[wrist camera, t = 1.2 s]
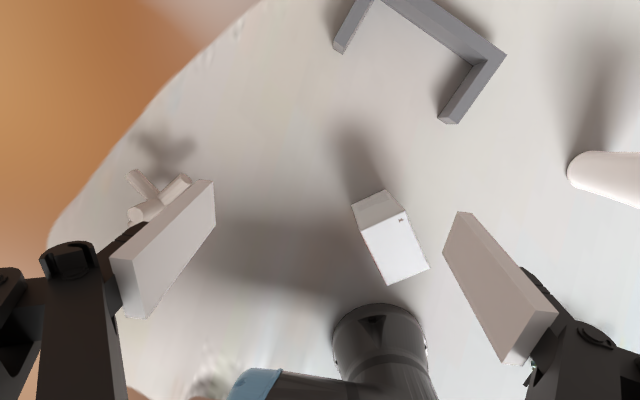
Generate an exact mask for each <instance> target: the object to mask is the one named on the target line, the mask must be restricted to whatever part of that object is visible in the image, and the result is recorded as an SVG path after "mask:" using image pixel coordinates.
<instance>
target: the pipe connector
mask: <svg viewBox="0 0 640 400" xmlns="http://www.w3.org/2000/svg"><path fill="white" fill-rule="evenodd" d="M125 179H126V180H127V181H128V182H129V183H130V184H131V185H132V186H133V187H134V188H135V189H136V190H137V191H138V192H139V193H140V194H141V195H142V196H143V197H144V198H145V199H146V200H147V201H146V202H143V203H141V204H139V205H136V206H134V207H132V208H130V209H129V210H128V211H127V216H128V218H129V219H130V221H129V222H128V226H129V228H130V227H131V226H134V225H136V224H138V223H140V222H142V221H146V222H150V221H151V220H152V219H154V218H155V217H156V216H157V215H158V214H159V213H161V212H162V211H163V210H164V209H165V208H166V207H168V206H169V205H170V204H171V203H172V202H173V201H174V200H176V199H177V198H178V197H179V196H180V195H181V194H183V193H184V192H185V191H184V190H186V189H187V188H188V187H189V186H190V185H191V184H192V180H191V179H190V178H189V177H188V176H187V175H185V174H183V173H181V174H180V175H178V176H177V177H176V178H175V179H174V180H173V181H172V182H171V183H170V184H169V185H168V186H167V187H166V188H164V189H163V190H162V191H161V192H160V191H159V190H158V189H157V188H156V187H155V186H154V185H153V184H152V183H151V182H150V181H149V180H148V179H147V178H146V177H145V176H144V175H143V174H142V173H141V172H140V171H139V170H138V169H135V170H132V171H131V172H129V173H128V174H127V175H126V176H125Z"/></svg>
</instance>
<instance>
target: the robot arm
mask: <svg viewBox="0 0 640 400" xmlns="http://www.w3.org/2000/svg"><path fill="white" fill-rule="evenodd" d="M215 226H216V216H215V201H214V186H213V181H208V180H200V179H199V180H198V181H197V182H195V183H194V184H193V185H192V186H191V187H190V188H188V189H187V190H186V191H185V192H184V193H183V194H181V195H180V196H179V197H178V198H177V199H176V200H174V201H173V202H172V203H171V204H170V205H169V206H168V207H166V208H165V209H164V210H163V211H162V212H161V213H159V214H158V215H157V216H156V217H155V218H154V219H152V220H151V221H150V222H146V221H142V222H140V223H138V224H136V225H134V226H131V227H130V228H129V229H127V230H126V231H125V232H124V233H122V235H120V236H119V237H117V238H116V239H115V241H113V242H111V243H110V244H109V245H108V246H106V247H105V248H104V249H103V250H101V251H100V252H99V253H98V254H96V252H95V249H94V246H93V245H92V243H89V242H87V241H72V242H66V243H63V244H60V245H57V246H54V247H52V248H50V249H48V250H47V251H46V252H44V253H43V254H42V255H41V256H40V258H39V262H40V264H41V266H42V269H43V271H44V274H45V276H46V277H41V278H31V279H24V276H23V274H22V273H21V271H20V270H19V269H17V268H13V267H8V268H0V400H18V397H19V395H20V393H21V391H22V388H23V386H24V384H25V382H26V380H27V377H28V375H29V373H30V371H31V369H32V367H33V364H34V362H35V360H36V358H37V355H38V354H39V351H40V349H41V351H40V361H39V372H38V381H37V392H36V400H128V395H127V388H126V381H125V374H124V368H123V361H122V354H121V348H120V341H119V334H118V328H117V321H116V318H115V314H116V312H117V311H118V310H119V309H120V308H121V307H122V306H123V310H124V313H125V317H128V318H136V319H144V320H147V318H148V317H149V315H150V314H151V313H152V311H153V310H154V309H155V307H156V306H157V305H158V303H159V302H160V301H161V299H162V298H163V296H164V295H165V294H166V292H167V291H168V290H169V288H170V287H171V286H172V284H173V283H174V281H175V280H176V279H177V277H178V276H179V275H180V273H181V272H182V271H183V269H184V268H185V267H186V265H187V264H188V262H189V261H190V260H191V258H192V257H193V256H194V254H195V253H196V252H197V250H198V249H199V247H200V246H201V245H202V243H203V242H204V241H205V239H206V238H207V237H208V235H209V234H210V233H211V231H212V230H213V228H214V227H215ZM442 254H443V256H444V258H445V260H446V262H447V263H448V265H449V267H450V269H451V271H452V273H453V275H454V276H455V278H456V280H457V282H458V284H459V286H460V287H461V289H462V291H463V293H464V295H465V297H466V299H467V300H468V302H469V304H470V306H471V308H472V310H473V312H474V313H475V315H476V317H477V319H478V321H479V323H480V324H481V326H482V328H483V330H484V332H485V334H486V336H487V337H488V339H489V341H490V343H491V345H492V347H493V349H494V350H495V352H496V354H497V356H498V358H499V360H500V361H501V363H502V364H508V365H516V366H523V365H524V363H525V362H526V361H527V359H528V358H529V356H531V357H532V359H533V360H534V362H535V363H536V365H537V366H536V367H535V369H534V370H533V371H532V373H531V374H530V375H529V377H528V378H527V380H526V381H525V382H524V384H523V385H524V386H525V387H527V386H528V385H529V386H528V390H527V394H526V398H525V400H640V354H636V353H633V352H631V351H628V350H625V349H622V348H619V347H617V346H616V344H615V343H614V342H613V341H612V340H611V339H610V338H609V337H608V336H607V335H606V334H604V333H603V332H602V331H600V330H599V329H597V328H595V327H593V326H592V325H589V324H587V323H584V322H581V321H576V320H574V318H573V317H572V316H571V315H570V314H569V313H568V312H567V311H566V310H565V309H564V307H563V306H562V305H561V304H560V303H559V302H558V301H557V300H556V299H555V298H554V297H553V295H550V292H549V291H548V290H547V289H546V288H545V287H543V284H542V283H541V282H540V281H539V280H538V279H537V278H536V277H535V276H534V275H533V274H531V273H530V272H529V271H527V270H526V269H524V268H523V267H519V266H518V265H517V264H516V263H515V262H514V261H513V260H512V259H511V257H510V256H509V255H508V254H507V253H506V252H505V251H504V249H503V248H502V247H501V246H500V245H499V244H498V243H497V241H496V240H495V239H494V238H493V237H492V236H491V235H490V233H489V232H488V231H487V230H486V229H485V228H484V227H483V225H482V224H481V223H480V222H479V221H478V220H477V219H476V217H475V216H474V215H473V214H472V213H467V212H459V211H457V214H456V217H455V219H454V222H453V225H452V227H451V230H450V232H449V235H448V238H447V240H446V243H445V246H444V248H443V251H442ZM332 347H333V358H334V362H335V365H336V367H337V369H338V371H339V373H340V374H341V378H342V380H337V379H331V378H325V377H319V376H312V375H306V374H300V373H293V372H287V371H283V369H278V370H272V369H262V368H251V369H248V370H246V371H245V372H243V373H242V374H241V375H240V376H239V378H238V379H237V381H236V382H235V384H234V385H233V387H232V389H231V391H230V393H229V395H228V397H227V399H226V400H439V399H438V397H437V395H436V392H435V390H434V387H433V385H432V382H431V380H430V378H429V375H428V362H427V354H428V349H427V342H426V338H425V336H424V333H423V331H422V329H421V327H420V325H419V323H418V322H417V320H416V319H415V318H414V317H413V316H412V315H411V314H410V313H408V312H407V311H405V310H404V309H402V308H399V307H397V306H394V305H389V304H369V305H365V306H362V307H359V308H357V309H355V310H353V311H351V312H350V313H348V314H347V315H346V316H345V317H344V318H343V319H342V320H341V321H340V322H339V324H338V325H337V327H336V329H335V331H334V334H333V340H332Z"/></svg>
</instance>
